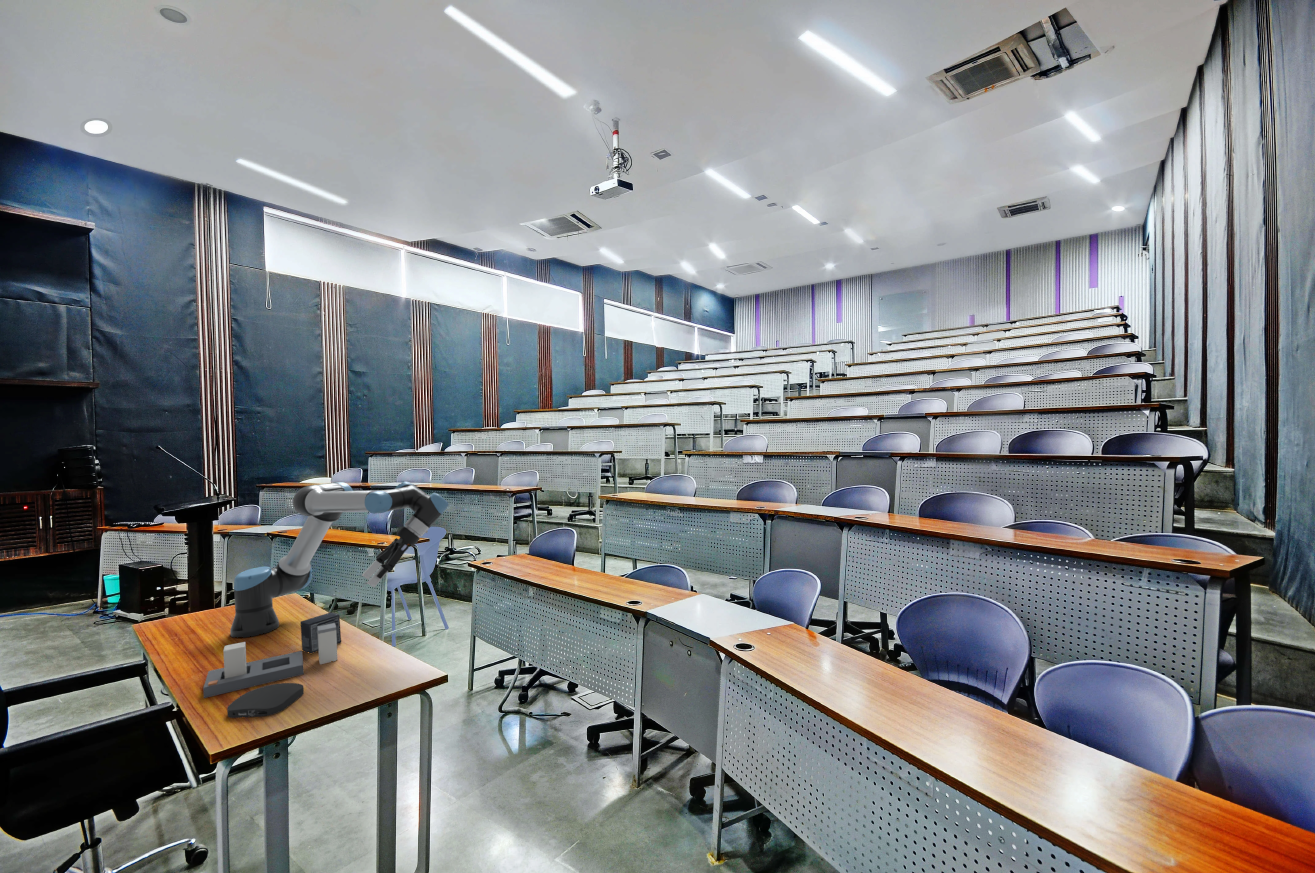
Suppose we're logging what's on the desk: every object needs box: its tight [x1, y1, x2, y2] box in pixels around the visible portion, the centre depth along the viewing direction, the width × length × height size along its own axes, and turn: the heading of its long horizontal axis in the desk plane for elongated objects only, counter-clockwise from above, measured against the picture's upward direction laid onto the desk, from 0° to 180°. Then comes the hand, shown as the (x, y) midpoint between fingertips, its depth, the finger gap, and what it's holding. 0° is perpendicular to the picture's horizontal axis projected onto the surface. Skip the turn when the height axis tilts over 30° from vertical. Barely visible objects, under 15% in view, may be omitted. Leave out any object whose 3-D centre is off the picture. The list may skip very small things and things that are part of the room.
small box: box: [299, 612, 342, 654], centre depth 192 cm, size 11×6×10 cm, turn 149°
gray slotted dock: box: [202, 641, 305, 699], centre depth 168 cm, size 14×24×11 cm, turn 125°
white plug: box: [317, 623, 338, 665], centre depth 180 cm, size 5×5×11 cm
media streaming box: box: [226, 682, 305, 719], centre depth 151 cm, size 15×15×3 cm
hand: (367, 581), depth 188 cm, fingers open, 13 cm apart
